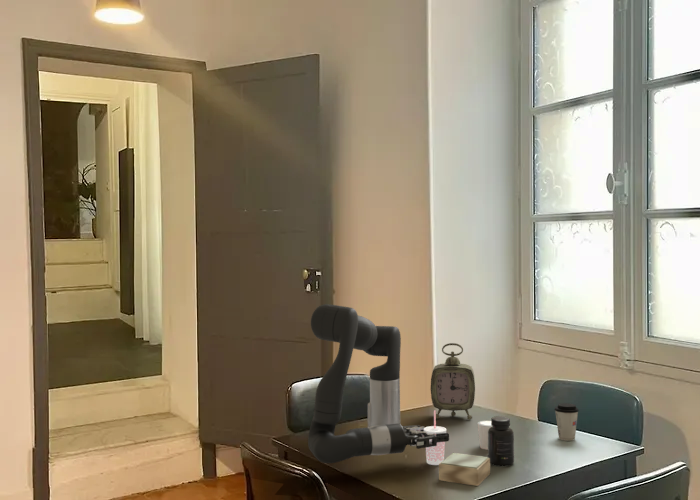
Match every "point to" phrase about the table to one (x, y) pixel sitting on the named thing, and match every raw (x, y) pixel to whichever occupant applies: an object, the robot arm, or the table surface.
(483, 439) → the white cup
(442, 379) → the tabletop clock
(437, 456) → the beverage cup
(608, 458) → the table surface
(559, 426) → the coffee cup
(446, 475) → the small box
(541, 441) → the table surface
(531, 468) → the table surface
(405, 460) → the table surface
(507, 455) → the supplement bottle
